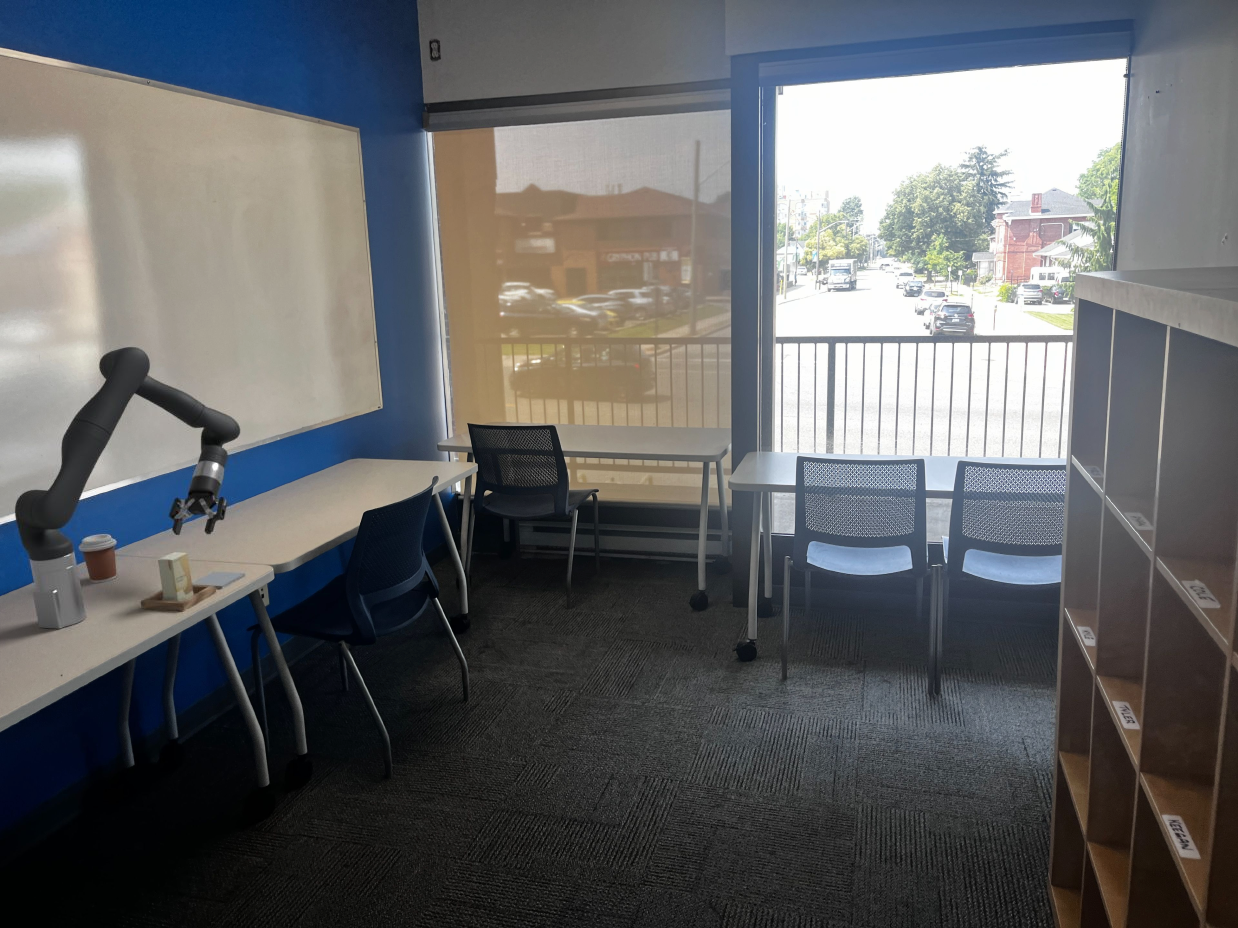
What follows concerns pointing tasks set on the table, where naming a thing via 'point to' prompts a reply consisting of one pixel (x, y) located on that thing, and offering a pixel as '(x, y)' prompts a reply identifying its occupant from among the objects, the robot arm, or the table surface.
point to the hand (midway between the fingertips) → (191, 533)
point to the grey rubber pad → (219, 579)
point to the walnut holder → (158, 602)
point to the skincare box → (175, 577)
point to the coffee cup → (99, 557)
